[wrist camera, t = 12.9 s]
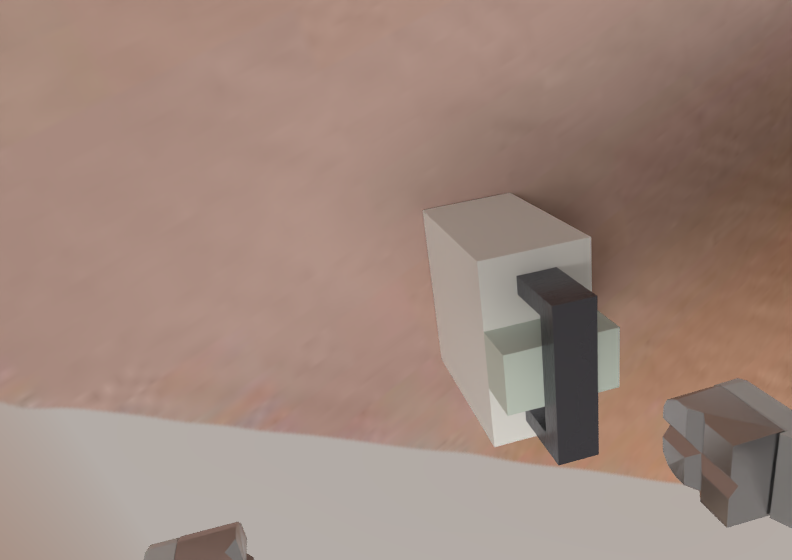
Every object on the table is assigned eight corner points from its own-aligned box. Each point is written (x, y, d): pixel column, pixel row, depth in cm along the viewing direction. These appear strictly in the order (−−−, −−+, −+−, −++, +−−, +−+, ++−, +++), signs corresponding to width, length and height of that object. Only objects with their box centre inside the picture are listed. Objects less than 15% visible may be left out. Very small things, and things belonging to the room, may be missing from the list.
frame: (516, 276, 34) (552, 306, 30) (556, 267, 34) (597, 295, 30) (526, 420, 38) (558, 465, 34) (561, 411, 38) (598, 454, 34)
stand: (422, 210, 44) (496, 280, 30) (509, 192, 45) (620, 252, 31) (441, 359, 49) (512, 477, 35) (519, 340, 50) (618, 448, 36)
